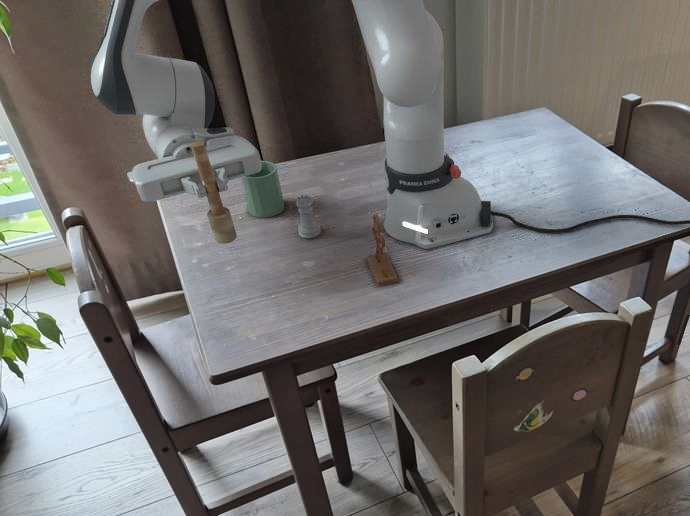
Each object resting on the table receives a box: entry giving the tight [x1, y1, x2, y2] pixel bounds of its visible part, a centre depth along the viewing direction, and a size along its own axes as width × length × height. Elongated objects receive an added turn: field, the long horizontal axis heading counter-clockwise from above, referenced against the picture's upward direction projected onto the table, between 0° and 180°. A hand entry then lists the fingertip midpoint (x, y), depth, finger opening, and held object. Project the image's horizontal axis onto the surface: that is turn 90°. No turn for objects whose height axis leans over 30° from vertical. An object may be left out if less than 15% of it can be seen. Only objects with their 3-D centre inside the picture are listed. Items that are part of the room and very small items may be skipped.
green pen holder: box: [239, 160, 286, 218], centre depth 132 cm, size 7×7×9 cm
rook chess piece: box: [295, 194, 322, 240], centre depth 125 cm, size 4×4×8 cm
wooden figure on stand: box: [366, 213, 399, 287], centre depth 115 cm, size 9×4×12 cm, turn 20°
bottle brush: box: [191, 141, 238, 245], centre depth 103 cm, size 4×4×17 cm
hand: (212, 190), depth 101 cm, fingers closed on bottle brush, 2 cm apart
